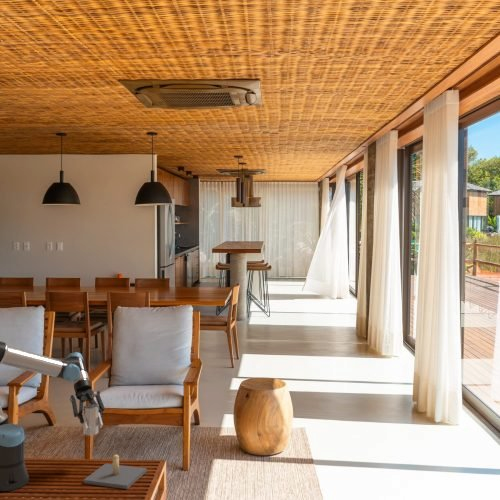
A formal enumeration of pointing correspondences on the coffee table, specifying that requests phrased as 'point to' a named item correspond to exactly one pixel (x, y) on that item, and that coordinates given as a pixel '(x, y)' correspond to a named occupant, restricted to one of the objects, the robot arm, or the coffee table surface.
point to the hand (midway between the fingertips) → (93, 427)
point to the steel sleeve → (91, 419)
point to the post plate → (115, 475)
